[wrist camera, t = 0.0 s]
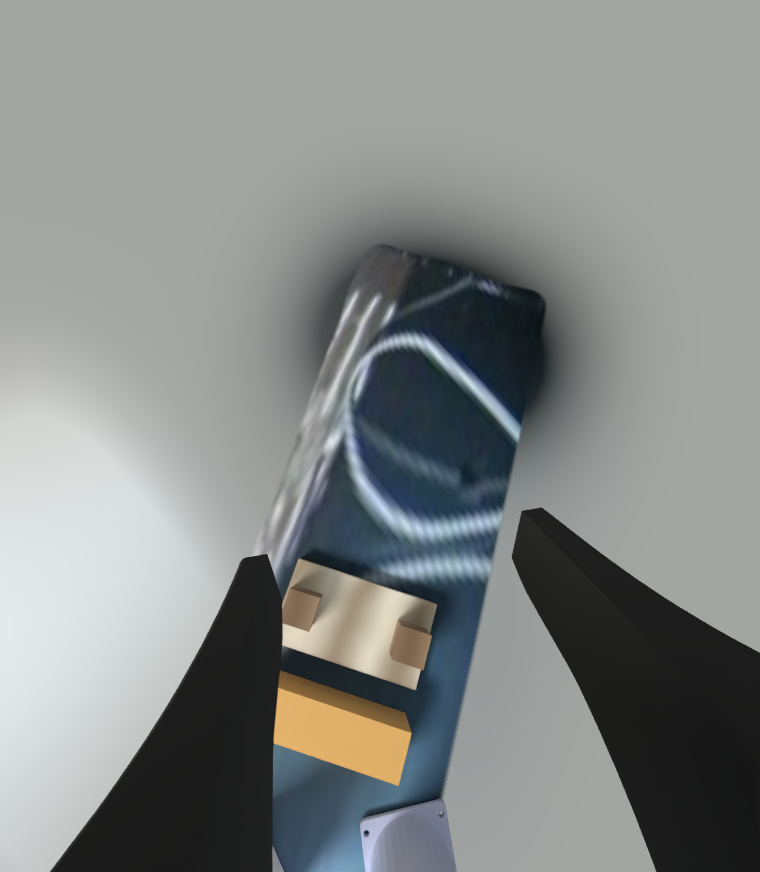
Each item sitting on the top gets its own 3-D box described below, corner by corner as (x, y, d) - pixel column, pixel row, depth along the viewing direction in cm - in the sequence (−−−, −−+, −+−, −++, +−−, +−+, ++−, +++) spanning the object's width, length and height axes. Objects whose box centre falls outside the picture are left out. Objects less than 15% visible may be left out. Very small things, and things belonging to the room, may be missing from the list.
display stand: (434, 602, 41) (444, 609, 37) (413, 684, 39) (421, 702, 34) (300, 558, 41) (294, 559, 37) (271, 637, 39) (262, 649, 35)
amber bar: (404, 711, 38) (411, 733, 34) (392, 757, 37) (398, 785, 33) (262, 663, 38) (251, 678, 34) (246, 707, 37) (232, 729, 33)
